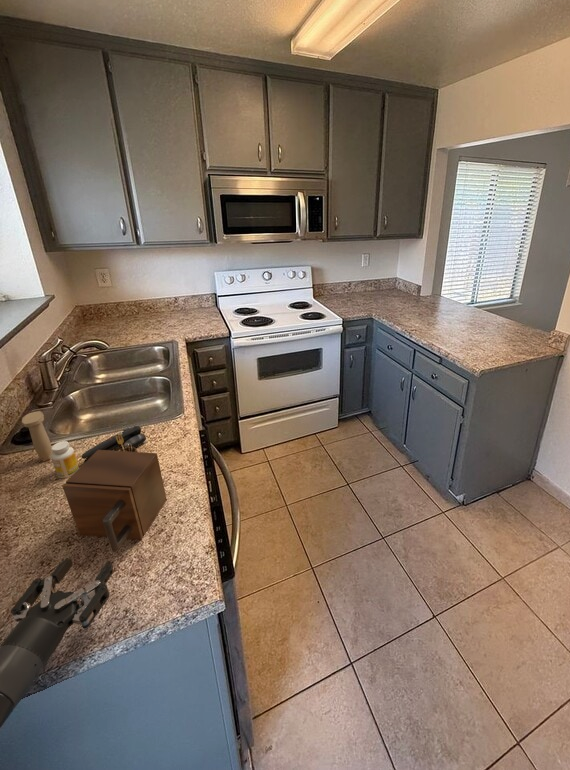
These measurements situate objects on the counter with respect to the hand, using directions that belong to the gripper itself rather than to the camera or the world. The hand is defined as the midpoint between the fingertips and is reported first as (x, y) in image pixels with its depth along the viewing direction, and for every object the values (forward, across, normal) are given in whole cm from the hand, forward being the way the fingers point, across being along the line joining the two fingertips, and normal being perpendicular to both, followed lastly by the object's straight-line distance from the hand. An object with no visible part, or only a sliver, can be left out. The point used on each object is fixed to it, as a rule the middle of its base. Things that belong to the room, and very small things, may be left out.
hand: (90, 562), depth 71 cm
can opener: (+41, +24, +8) cm, 48 cm away
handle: (+36, +42, +8) cm, 56 cm away
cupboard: (+18, +5, +8) cm, 20 cm away
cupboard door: (+9, +5, +8) cm, 13 cm away
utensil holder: (+33, +13, +8) cm, 37 cm away
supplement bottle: (+31, +31, +8) cm, 45 cm away
